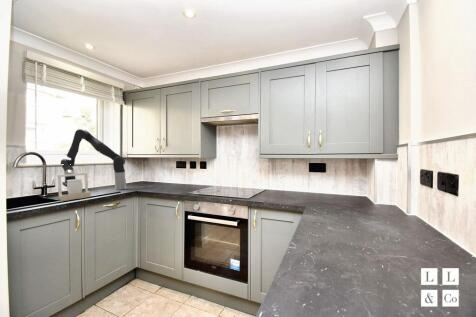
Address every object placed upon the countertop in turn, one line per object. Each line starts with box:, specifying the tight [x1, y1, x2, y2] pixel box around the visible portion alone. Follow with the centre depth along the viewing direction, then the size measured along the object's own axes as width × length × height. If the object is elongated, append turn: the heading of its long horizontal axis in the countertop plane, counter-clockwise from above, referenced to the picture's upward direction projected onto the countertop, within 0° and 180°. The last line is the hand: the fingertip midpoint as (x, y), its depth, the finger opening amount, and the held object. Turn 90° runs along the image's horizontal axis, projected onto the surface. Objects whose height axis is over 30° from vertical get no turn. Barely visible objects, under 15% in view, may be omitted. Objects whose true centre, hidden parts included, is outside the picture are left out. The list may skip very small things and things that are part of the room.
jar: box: [66, 178, 84, 195], centre depth 179 cm, size 11×10×15 cm
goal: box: [57, 172, 92, 201], centre depth 178 cm, size 14×20×20 cm
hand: (72, 190), depth 190 cm, fingers closed
